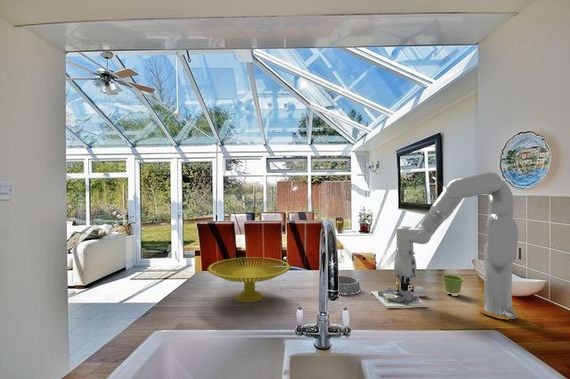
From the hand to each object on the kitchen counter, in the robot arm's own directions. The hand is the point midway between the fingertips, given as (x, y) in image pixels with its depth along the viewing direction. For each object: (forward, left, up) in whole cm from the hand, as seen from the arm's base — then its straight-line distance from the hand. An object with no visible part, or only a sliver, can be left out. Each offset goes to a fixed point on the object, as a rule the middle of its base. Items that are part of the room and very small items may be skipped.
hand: (404, 290), depth 145 cm
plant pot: (+4, -27, -4) cm, 28 cm away
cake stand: (+8, +74, -4) cm, 75 cm away
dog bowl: (+16, +26, -5) cm, 31 cm away
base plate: (-2, +4, -4) cm, 6 cm away
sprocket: (-2, +4, -3) cm, 5 cm away
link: (+4, -10, -4) cm, 11 cm away
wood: (+20, -9, -5) cm, 23 cm away
